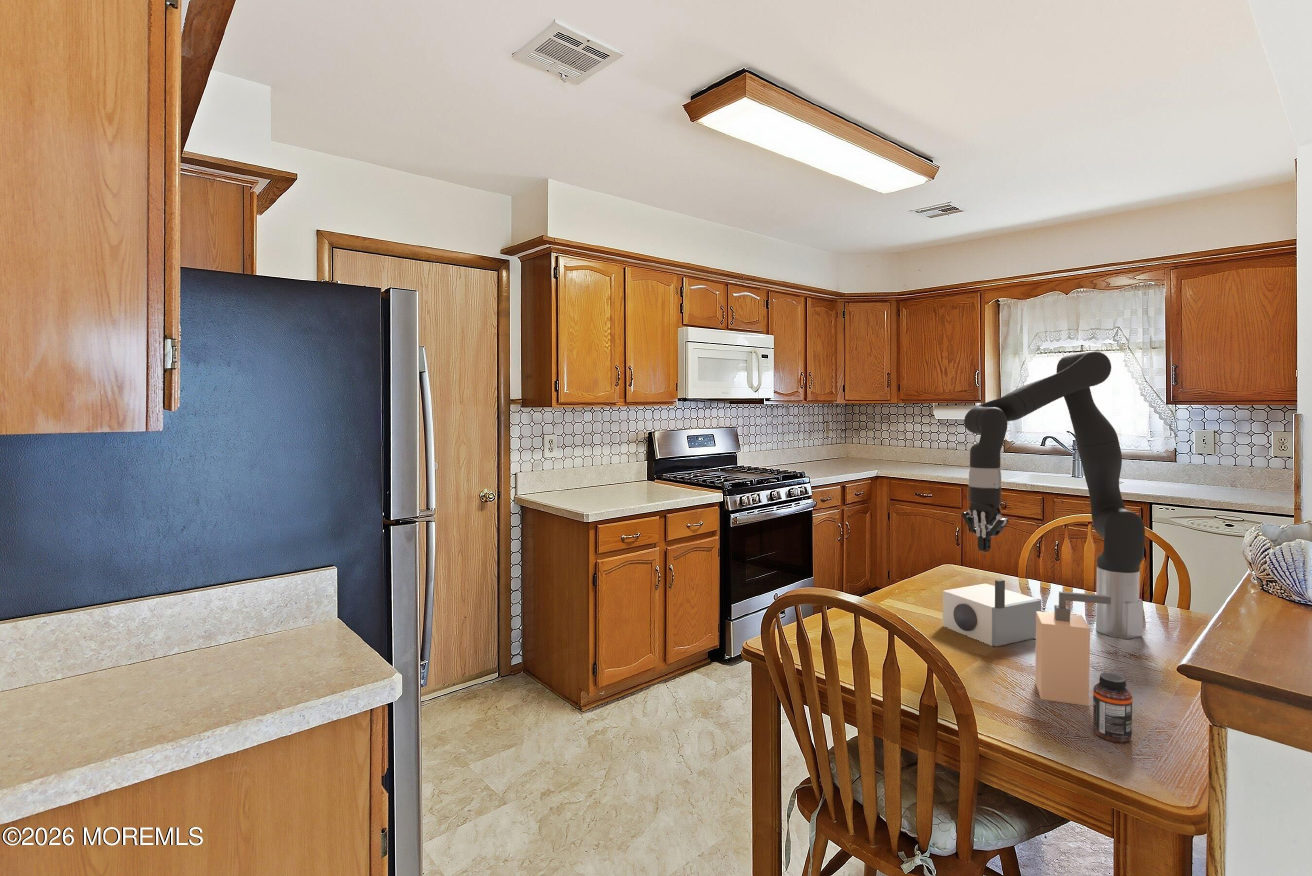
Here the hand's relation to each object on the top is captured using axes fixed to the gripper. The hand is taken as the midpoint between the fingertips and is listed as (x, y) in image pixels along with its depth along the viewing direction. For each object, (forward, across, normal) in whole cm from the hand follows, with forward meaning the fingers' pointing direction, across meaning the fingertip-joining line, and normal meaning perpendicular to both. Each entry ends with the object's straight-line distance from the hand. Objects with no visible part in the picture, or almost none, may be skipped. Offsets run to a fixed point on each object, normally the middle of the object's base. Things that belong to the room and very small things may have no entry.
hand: (984, 551), depth 168 cm
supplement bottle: (+24, +45, -18) cm, 54 cm away
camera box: (+23, -4, +6) cm, 25 cm away
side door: (+23, +5, +7) cm, 25 cm away
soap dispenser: (+24, +31, -10) cm, 40 cm away
